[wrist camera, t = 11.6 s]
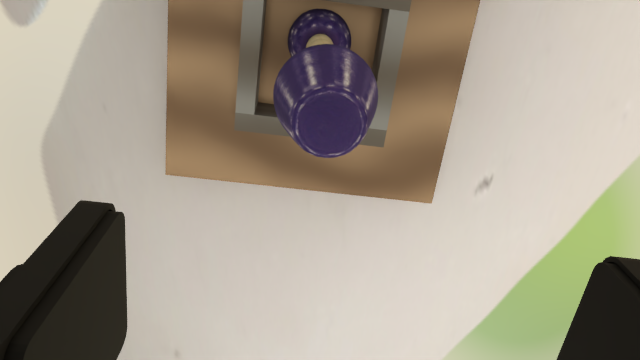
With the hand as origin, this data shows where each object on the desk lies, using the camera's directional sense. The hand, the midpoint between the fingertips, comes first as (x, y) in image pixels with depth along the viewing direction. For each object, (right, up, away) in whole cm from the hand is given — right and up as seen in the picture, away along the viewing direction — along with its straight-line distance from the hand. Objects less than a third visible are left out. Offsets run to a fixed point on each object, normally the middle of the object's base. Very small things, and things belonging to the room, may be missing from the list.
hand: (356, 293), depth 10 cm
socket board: (-1, +11, +26) cm, 29 cm away
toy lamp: (-1, +11, +25) cm, 27 cm away
